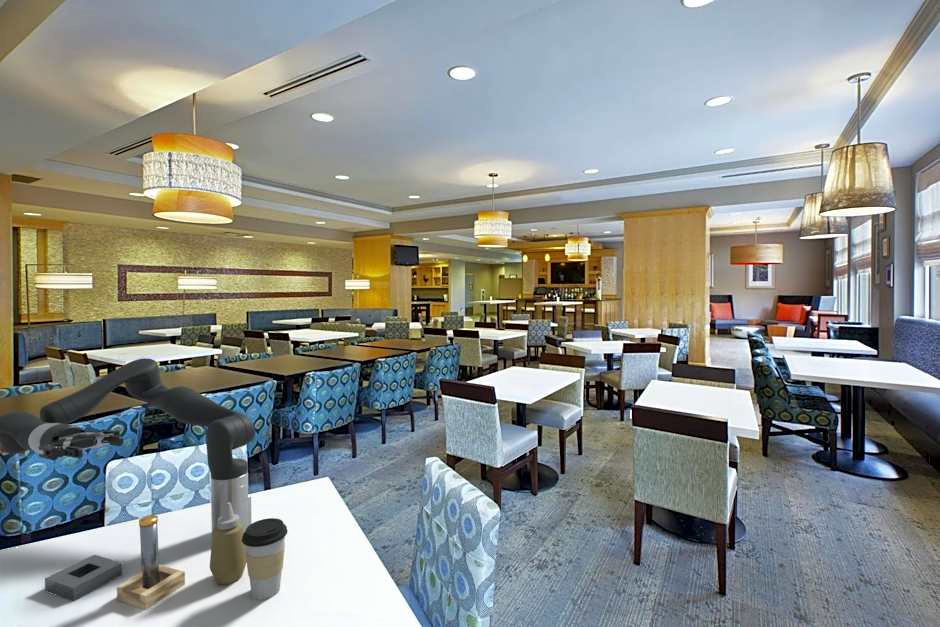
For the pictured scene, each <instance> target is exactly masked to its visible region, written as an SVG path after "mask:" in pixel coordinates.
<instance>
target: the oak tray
mask: <svg viewBox="0 0 940 627" xmlns="http://www.w3.org/2000/svg"><path fill="white" fill-rule="evenodd" d="M159 573H160V582H159V583H158V584H156V585H155V586H153V587H151V588H150V589H145V588H143V585H142V572H141V573H139V574H137V575H136V576H133V577H132V578H130V579H129V580H126V581H125V582H122V583H121V584H120V585H118V586H116V600H117V602H118V601H119V602H122V603H125V604H128V605H130V606H133V607H136V608H138V609H139V608H140V609H143V610H148V609H149V608H150V607H152V606H154V605H155V604H157V603H158V602H160V601H161V600H163V599H165V598H166V597H168V596H170V595H171V594H172V593H174V592H176V591H177V590H179V589H180V588H182V587H183V586H185V585H186V572H185V571H183V570H180V569H176V568H173V567H169V566H165V565H163V564H159Z"/></svg>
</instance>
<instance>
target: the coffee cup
mask: <svg viewBox="0 0 940 627" xmlns="http://www.w3.org/2000/svg"><path fill="white" fill-rule="evenodd" d="M287 535H288V526H287V525H286V524H285V523H284V521H283V520H282V519H280V518H276V517H275V518H274V517H272V518H263V519H260V520H259V519H258V520H256V521H254V522H251V524H250V525H249V526H248V527H247V528H246V531H245V532H244V534H243V536H242V543H243V544H244V545H245V547H246V550H245V553H246V561H247V563H246V568H247V576H248V577H249V585H250V593H251V596H252V598H253V599H255V600H257V599H258V600H260V601H262V600H263V599H264V600H267V598H268V599H270V598H272V597H273V596H275V595H276V593H277V592H278V591H279V592H280V589H281V583H282V582H281V581H282V572H283V568H284V560H285V558H284V557H285V548H286V546H285V545H286V543H285V540H286V536H287ZM279 592H278V593H279ZM278 593H277V594H278Z"/></svg>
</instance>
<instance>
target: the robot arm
mask: <svg viewBox="0 0 940 627" xmlns="http://www.w3.org/2000/svg"><path fill="white" fill-rule="evenodd" d="M122 384H124V386H125V390H126V391H127V393H128V394H129V395H130V396H131V397H133V398H136V399H138V400H141V401H142V402H145V403H146V404H147V403H148V404H150V405H151V406H154V407H155V408H157V409H158V410H160V411H162V412H164V413H165V414H167V415H168V416H169V417H171V418H173V419H175V421H177V422H180V423H183V424H187V425H190V426H191V425H192V426H197V427H204V428H205V427H206V433H205V443H206V455H207V457H206V458H207V466H208V469H209V471H210V507H211V508H210V509H211V511H210V512H211V519H210V520H211V537H212V536H213V531H214V530H215V529H216V528H217V520H218V519H219V518H220V517H222V516H223V512H224V507H225V503H228V502H230V503H231V506H232V509H233V513H234V514H237V515H239V523H241V524H243V526H244V532H245V531H246V528H247V527H248V526H249V525H250V524H252V496H251V495H250V494H249V471H248V470H249V464H248V462H247V460H245V459H243V458H238V457H237V458H236V457H235V458H234V457H233V451H234V450H236V449H238V448H242V447H244V446H246V445H247V444H250V443H251V442H252V441H253V440H254V438H255V436H256V427H255V425H254V423H253V421H252V420H251V419H250V418H249V417H248V416H247V415H245V414H243V413H241V412H238V411H236V410H233V409H230V408H228V407H226V406H223V405H221V404H219V403H217V402H215V401H213V400H211V399H210V398H207V397H206V396H204V395H202V394H201V393H199V392H198V391H196V390H194V389H192V388H191V387H188V386H183V385H182V386H181V385H180V386H179V385H178V386H175V387H172V388H168V387H167V386H166V385H164V383H163V382H162V378H161V374H160V369H159V365H158V363H157V361H156V360H155V359H152V358H147V357H146V358H139V359H135V360H131V361H130V362H128V363H125V364H124V365H122V366H120V367H118V368H116V369H114V370H112V371H111V372H109V373H108V374H106V375H104V376H103V377H100V379H97V380H96V381H94V382H93V383H91V384H89V385H87V386H85V387H84V388H82V389H80V390H77V391H75V392H73V393H70V394H68V395H66V396H63V397H62V398H59V399H57V400H55V401H53V402H49V403H48V404H45V405H44V406H41V408H40V409H39V417H37V416H36V415H34V414H32V413H29V412H28V411H27V412H25V411H12V412H7V413H4V414H2V415H0V446H1V448H2V450H3V451H4V452H5V453H6V454H9V455H16V454H18V455H19V454H21V453H22V454H23V453H25V452H27V451H31V452H36V453H38V457H39V458H42V459H46V460H49V461H56V460H58V459H59V458H60V459H61V458H64V459H66V458H74V459H81V458H82V457H83V454H84V453H83V451H84V450H85V451H87V450H88V449H97V448H98V449H99V448H102V447H103V446H109V445H110V446H114V447H115V446H116V447H120V446H123V445H124V437H123V436H121V431H120V430H113V429H105V428H103V429H100V430H99V432H87V431H85V430H84V429H83V428H82V427H80V426H78V425H73V424H70V423H72V422H74V421H77V420H78V419H81V418H82V417H84V416H86V415H89V413H91V412H92V411H93V410H95V409H96V408H97V407H98V406H99V405H100V404H101V402H103V400H104V399H105V398H106V397H108V396H109V394H110V393H112V392H113V391H114V390H115V389H116V388H118V387H120V386H121V385H122ZM96 440H97V444H95V443H96Z"/></svg>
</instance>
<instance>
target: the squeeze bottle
mask: <svg viewBox="0 0 940 627" xmlns="http://www.w3.org/2000/svg"><path fill="white" fill-rule="evenodd" d="M243 534H244V526H243V524H241V523H239V515H237V514H234V513H233V509H232V506H231V503H230V502H228V503H225V507H224V512H223V516H222V517H220V518H219V519H218V520H217V528H216V529H215V530H214V531H213V536H212V535H211V546H210V559H209V569H210V572H211V574H212V577H213V579H214V581H215V583H217V584H219V585H228V584H231V583H233V582H234V583H235V582H236V581H238V580H239V579H240V578H242V576H243V574H244V571H245V568H246V567H247V561H246V553H245V550H246V547H245V545H244V544H243V543H242V536H243Z"/></svg>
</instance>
